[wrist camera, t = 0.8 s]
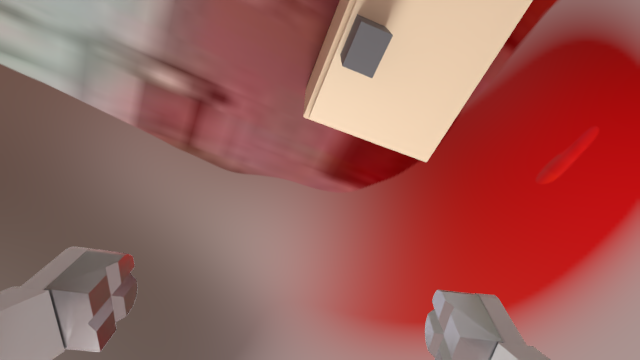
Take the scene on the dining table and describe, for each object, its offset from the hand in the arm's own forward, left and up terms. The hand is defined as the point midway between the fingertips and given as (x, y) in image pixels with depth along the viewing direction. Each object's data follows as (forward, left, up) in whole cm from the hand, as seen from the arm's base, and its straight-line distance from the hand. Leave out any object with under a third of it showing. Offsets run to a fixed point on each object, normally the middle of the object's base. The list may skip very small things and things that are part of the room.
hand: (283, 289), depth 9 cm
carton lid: (-2, +10, -31) cm, 32 cm away
